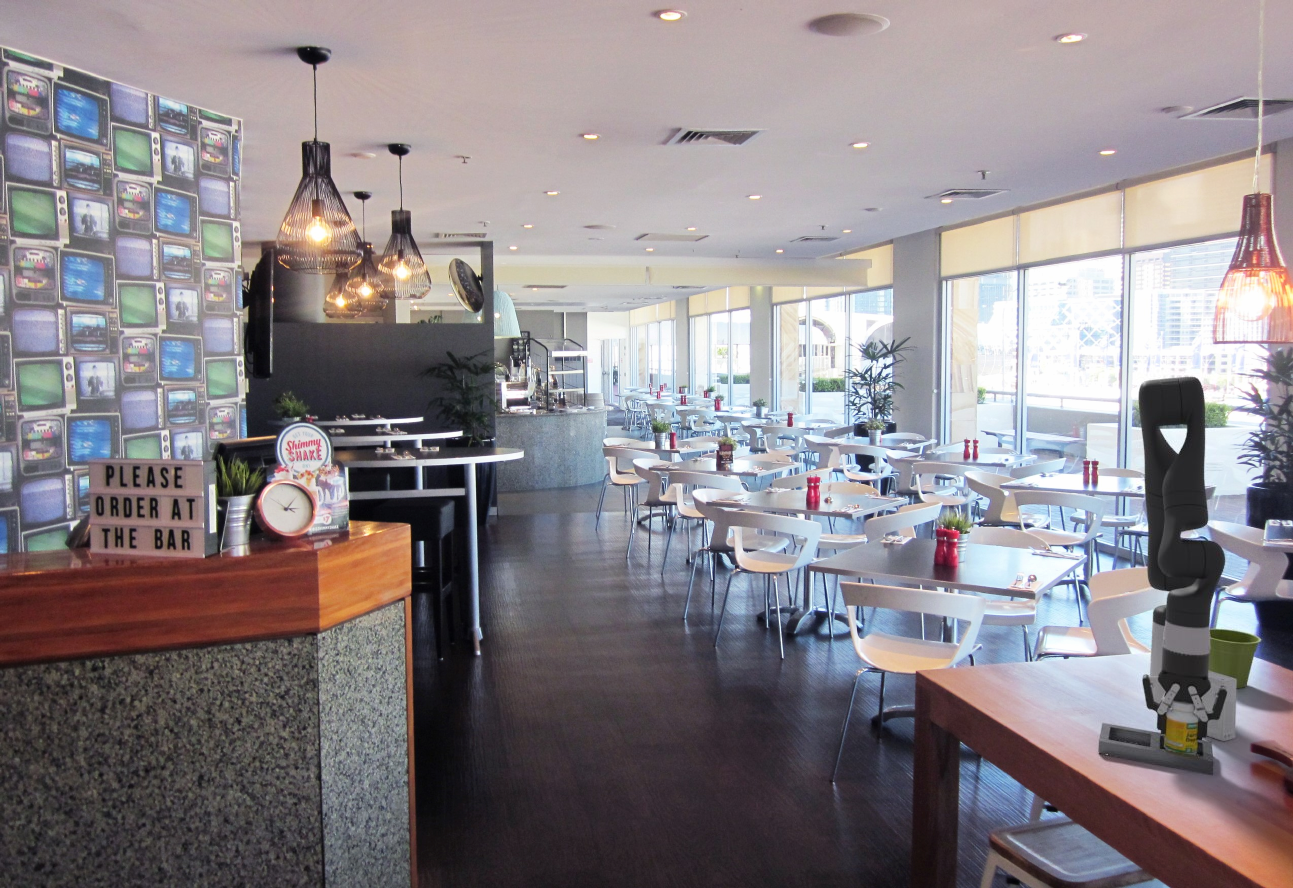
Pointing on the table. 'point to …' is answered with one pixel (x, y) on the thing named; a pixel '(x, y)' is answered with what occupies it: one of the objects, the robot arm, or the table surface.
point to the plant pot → (1232, 654)
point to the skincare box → (1226, 722)
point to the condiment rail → (1153, 749)
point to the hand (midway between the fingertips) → (1181, 735)
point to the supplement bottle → (1181, 728)
